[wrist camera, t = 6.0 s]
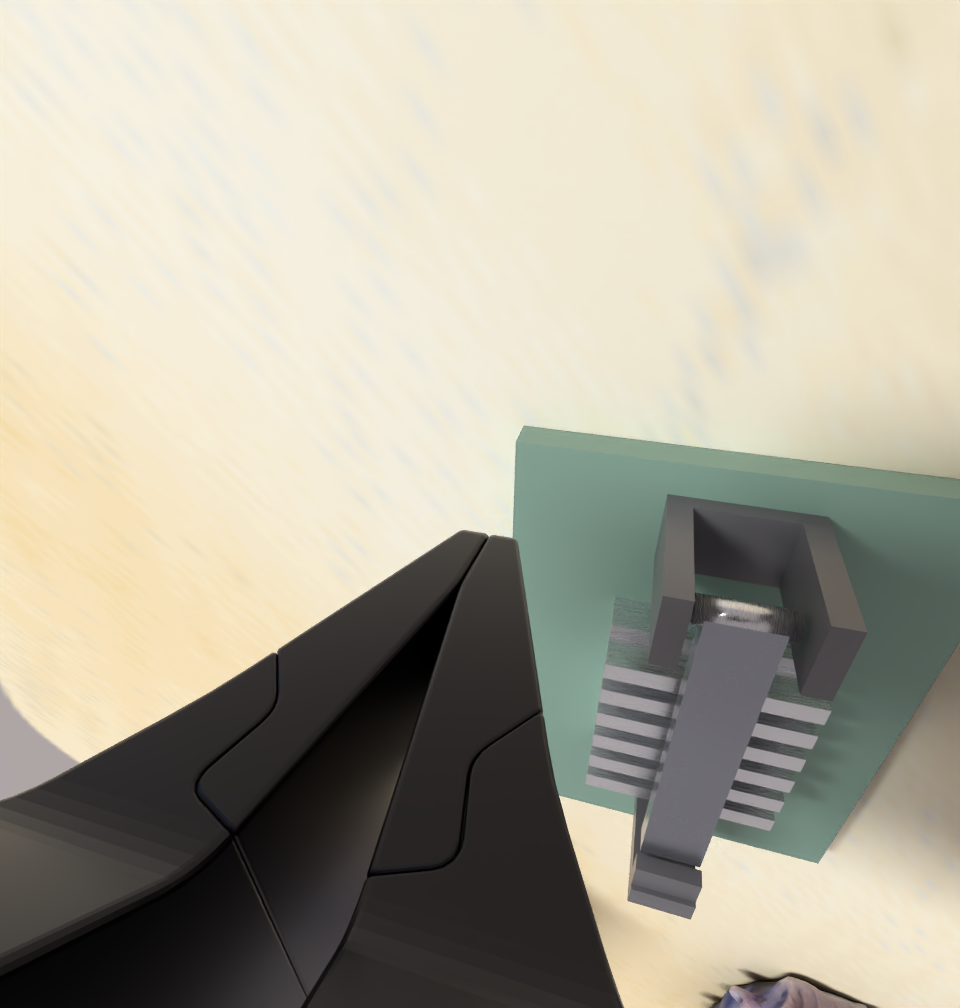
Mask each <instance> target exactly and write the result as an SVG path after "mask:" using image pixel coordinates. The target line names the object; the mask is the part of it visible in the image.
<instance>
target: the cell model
mask: <svg viewBox="0 0 960 1008" xmlns="http://www.w3.org/2000/svg"><path fill="white" fill-rule="evenodd" d="M710 1008H867V1007H866V1006H865V1005H864V1004H861V1003H857V1002H852V1001H849V1000H847V999H845V998H842V997H840V996H836V995H833V994H830V993H827V992H823V991H820V990H819V989H817V988H816V987H814V986H813V985H811V984H809V983H807V982H806V981H803V980H800V979H797V978H793V977H788V976H787V977H786V978H784V979H782V980H779V981H777V982H754V983H751V984H748V985H743V986H735V985H733V986H731V987H730V989H729V990H728V991H727V993H726V994H725V995H724V997H723V999H722V1001H721V1002H719V1003H717V1004H715V1005H713V1006H711V1007H710Z"/></svg>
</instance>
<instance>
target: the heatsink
mask: <svg viewBox="0 0 960 1008" xmlns="http://www.w3.org/2000/svg"><path fill="white" fill-rule="evenodd" d="M651 604H652V603H647V602H642V601H636V600H631V599H625V598H620V597H615V601H614V607H613V613H612V619H611V625H610V631H609V637H608V643H607V649H606V655H605V661H604V667H603V673H602V679H601V685H600V691H599V698H598V704H597V710H596V716H595V722H594V728H593V734H592V741H591V748H590V755H589V763H588V770H587V776H586V783H585V784H588V785H592V786H595V787H599V788H603V789H607V790H611V791H615V792H619V793H623V794H627V795H631V796H635V797H638V798H642V799H646V800H649V799H650V795H651V791H652V788H653V784H654V780H655V777H656V773H657V769H658V765H659V762H660V758H661V754H662V751H663V747H664V743H665V740H666V736H667V732H668V728H669V725H670V721H671V717H672V714H673V710H674V706H675V703H676V699H677V695H678V692H679V688H680V684H681V680H682V677H683V673H684V669H685V666H686V662H687V658H688V655H689V651H690V647H691V643H692V640H693V636H694V632H695V629H696V625H694V624H690V622H689V625H688V629H687V633H686V637H685V640H684V644H683V648H682V651H681V655H680V659H679V663H678V666H677V669H672V668H667V667H662V666H657V665H652V664H648V648H649V634H650V619H651ZM830 713H831V707H830V703H829V701H828V700H823V699H818V698H813V697H808V696H803V695H800V693H799V687H798V682H797V677H796V672H795V666H794V661H793V656H792V650H791V645H790V643H789V642H788V643H787V646H786V648H785V651H784V653H783V656H782V659H781V661H780V664H779V666H778V669H777V671H776V674H775V676H774V679H773V682H772V684H771V687H770V689H769V692H768V694H767V697H766V700H765V702H764V705H763V707H762V710H761V712H760V715H759V717H758V720H757V723H756V725H755V728H754V730H753V733H752V735H751V738H750V740H749V743H748V746H747V748H746V751H745V753H744V756H743V758H742V761H741V764H740V766H739V769H738V771H737V774H736V776H735V779H734V781H733V784H732V787H731V789H730V792H729V794H728V797H727V799H726V802H725V804H724V807H723V810H722V812H721V815H720V817H719V818H720V819H724V820H728V821H732V822H736V823H740V824H744V825H748V826H752V827H756V828H760V829H763V830H767V831H770V830H771V828H772V826H773V824H774V822H775V818H774V812H778V813H779V812H780V810H781V809H782V807H783V805H784V803H785V801H784V794H783V792H787V793H790V791H791V789H792V787H793V785H794V783H795V778H794V772H793V771H798V772H801V770H802V768H803V766H804V764H805V762H806V755H805V750H804V748H807V749H812V748H813V746H814V744H815V742H816V741H817V739H818V732H817V727H816V724H821V725H825V723H826V721H827V719H828V717H829V715H830Z"/></svg>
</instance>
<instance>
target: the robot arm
mask: <svg viewBox="0 0 960 1008" xmlns="http://www.w3.org/2000/svg"><path fill="white" fill-rule="evenodd" d="M0 1008H624V1006H623V1004H622V1001H621V998H620V995H619V993H618V990H617V987H616V984H615V981H614V978H613V975H612V972H611V969H610V966H609V963H608V960H607V957H606V954H605V951H604V947H603V944H602V941H601V938H600V934H599V931H598V928H597V924H596V921H595V918H594V914H593V911H592V908H591V904H590V901H589V898H588V895H587V891H586V888H585V885H584V881H583V878H582V875H581V871H580V868H579V865H578V861H577V858H576V855H575V852H574V848H573V845H572V842H571V838H570V835H569V832H568V828H567V824H566V821H565V817H564V813H563V809H562V806H561V802H560V798H559V794H558V790H557V786H556V783H555V777H554V772H553V767H552V762H551V756H550V751H549V746H548V739H547V732H546V726H545V719H544V717H543V707H542V701H541V694H540V687H539V680H538V674H537V667H536V660H535V653H534V647H533V640H532V633H531V626H530V620H529V613H528V606H527V599H526V593H525V586H524V579H523V572H522V566H521V559H520V552H519V545H518V541H517V540H516V539H514V538H509V537H503V536H497V535H492V536H490V537H488V535H487V534H485V533H479V532H473V531H467V530H462V531H459V532H457V533H456V534H454V535H453V536H451V537H450V538H448V539H447V540H445V541H444V542H442V543H440V544H439V545H437V546H436V547H434V548H433V549H431V550H430V551H428V552H427V553H425V554H424V555H422V556H420V557H419V558H417V559H416V560H414V561H413V562H411V563H410V564H408V565H407V566H405V567H404V568H402V569H401V570H399V571H397V572H396V573H394V574H393V575H391V576H390V577H388V578H387V579H385V580H384V581H382V582H381V583H379V584H377V585H376V586H374V587H373V588H371V589H370V590H368V591H367V592H365V593H364V594H362V595H361V596H359V597H358V598H356V599H354V600H353V601H351V602H350V603H348V604H347V605H345V606H344V607H342V608H341V609H339V610H338V611H336V612H334V613H333V614H331V615H330V616H328V617H327V618H325V619H324V620H322V621H321V622H319V623H318V624H316V625H315V626H313V627H311V628H310V629H308V630H307V631H305V632H304V633H302V634H301V635H299V636H298V637H296V638H295V639H293V640H292V641H290V642H288V643H287V644H285V645H284V646H282V647H281V648H279V649H278V651H277V654H276V653H271V654H270V655H268V656H267V657H265V658H263V659H262V660H260V661H259V662H257V663H256V664H254V665H253V666H251V667H250V668H248V669H246V670H245V671H243V672H242V673H240V674H238V675H237V676H235V677H234V678H232V679H230V680H229V681H227V682H226V683H224V684H222V685H221V686H219V687H217V688H216V689H214V690H213V691H211V692H209V693H208V694H206V695H204V696H202V697H200V698H199V699H197V700H195V701H193V702H192V703H190V704H188V705H186V706H185V707H183V708H181V709H179V710H177V711H176V712H174V713H172V714H170V715H169V716H167V717H165V718H163V719H161V720H160V721H158V722H156V723H154V724H152V725H150V726H148V727H147V728H145V729H143V730H141V731H139V732H137V733H135V734H134V735H132V736H130V737H128V738H126V739H124V740H123V741H121V742H119V743H117V744H115V745H113V746H111V747H110V748H108V749H106V750H104V751H102V752H100V753H99V754H97V755H95V756H93V757H91V758H89V759H87V760H86V761H84V762H82V763H80V764H78V765H76V766H75V767H73V768H71V769H69V770H68V771H65V772H63V773H62V774H60V775H58V776H56V777H54V778H52V779H50V780H48V781H46V782H44V783H42V784H40V785H38V786H36V787H34V788H31V789H29V790H27V791H24V792H22V793H20V794H17V795H15V796H12V797H9V798H7V799H4V800H1V801H0Z"/></svg>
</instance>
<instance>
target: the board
mask: <svg viewBox="0 0 960 1008" xmlns="http://www.w3.org/2000/svg"><path fill="white" fill-rule="evenodd" d="M667 494H671V495H678V496H685V497H692V498H699V499H706V500H713V501H720V502H727V503H734V504H741V505H748V506H755V507H763V508H770V509H777V510H784V511H791V512H798V513H805V514H812V515H819V516H826V517H829V520H830V523H831V526H832V529H833V532H834V535H835V538H836V540H837V543H838V546H839V549H840V552H841V555H842V558H843V561H844V564H845V567H846V570H847V573H848V576H849V579H850V582H851V585H852V588H853V591H854V594H855V597H856V600H857V603H858V605H859V608H860V611H861V614H862V617H863V620H864V623H865V626H866V629H867V632H868V633H867V635H866V637H865V639H864V641H863V643H862V645H861V646H860V648H859V650H858V652H857V654H856V656H855V658H854V660H853V662H852V664H851V666H850V668H849V670H848V672H847V674H846V676H845V678H844V680H843V682H842V684H841V686H840V688H839V690H838V692H837V694H836V696H835V698H834V700H833V702H832V701H829V703H830V707H831V713H830V715H829V717H828V719H827V721H826V723H825V725H821V724H816V727H817V732H818V739H817V741H816V742H815V744H814V746H813V748H812V749H807V748H804V750H805V755H806V762H805V764H804V766H803V768H802V770H801V772H798V771H793V772H794V778H795V783H794V785H793V787H792V789H791V791H790V793H787V792H783V794H784V801H785V803H784V805H783V807H782V809H781V810H780V812H779V813H778V812H774V818H775V822H774V824H773V826H772V828H771V830H770V831H767V830H763V829H760V828H756V827H752V826H748V825H744V824H740V823H736V822H732V821H728V820H724V819H720V818H719V820H718V822H717V825H716V828H715V830H714V833H713V835H712V836H716V837H719V838H723V839H727V840H731V841H735V842H738V843H742V844H746V845H750V846H754V847H757V848H761V849H765V850H769V851H773V852H777V853H780V854H784V855H788V856H792V857H796V858H799V859H803V860H807V861H811V862H815V863H819V861H820V860H821V858H822V856H823V855H824V853H825V852H826V850H827V849H828V847H829V846H830V844H831V842H832V841H833V839H834V838H835V836H836V835H837V833H838V831H839V830H840V828H841V827H842V825H843V824H844V822H845V820H846V819H847V817H848V816H849V814H850V813H851V811H852V810H853V808H854V806H855V805H856V803H857V802H858V800H859V799H860V797H861V795H862V794H863V792H864V791H865V789H866V788H867V786H868V784H869V783H870V781H871V780H872V778H873V777H874V775H875V773H876V772H877V770H878V769H879V767H880V766H881V764H882V763H883V761H884V759H885V758H886V756H887V755H888V753H889V752H890V750H891V748H892V747H893V745H894V744H895V742H896V741H897V739H898V737H899V736H900V734H901V733H902V731H903V730H904V728H905V727H906V725H907V723H908V722H909V720H910V719H911V717H912V716H913V714H914V712H915V711H916V709H917V708H918V706H919V705H920V703H921V701H922V700H923V698H924V697H925V695H926V694H927V692H928V691H929V689H930V687H931V686H932V684H933V683H934V681H935V680H936V678H937V676H938V675H939V673H940V672H941V670H942V669H943V667H944V665H945V664H946V662H947V661H948V659H949V658H950V656H951V654H952V653H953V651H954V650H955V648H956V647H957V645H958V644H959V642H960V480H959V479H950V478H942V477H934V476H926V475H918V474H910V473H902V472H894V471H885V470H877V469H869V468H861V467H853V466H845V465H837V464H829V463H821V462H812V461H804V460H796V459H788V458H780V457H772V456H764V455H756V454H747V453H739V452H731V451H723V450H715V449H707V448H699V447H691V446H682V445H674V444H666V443H658V442H650V441H642V440H634V439H626V438H618V437H609V436H601V435H593V434H585V433H577V432H569V431H561V430H553V429H544V428H536V427H528V426H523V428H522V430H521V432H520V435H519V437H518V439H517V441H516V456H515V486H514V516H513V538H514V539H516V540H517V541H518V545H519V552H520V559H521V566H522V572H523V579H524V586H525V593H526V599H527V606H528V613H529V620H530V626H531V633H532V640H533V647H534V653H535V660H536V667H537V674H538V680H539V687H540V694H541V701H542V707H543V717H544V719H545V726H546V732H547V739H548V746H549V751H550V756H551V762H552V767H553V772H554V777H555V783H556V786H557V790H558V794H559V795H560V796H563V797H567V798H571V799H575V800H579V801H583V802H586V803H590V804H594V805H598V806H602V807H605V808H609V809H613V810H617V811H621V812H624V813H628V814H632V815H634V804H635V796H631V795H627V794H623V793H619V792H615V791H611V790H607V789H603V788H599V787H595V786H592V785H588V784H585V783H586V776H587V770H588V763H589V755H590V748H591V741H592V734H593V728H594V722H595V716H596V710H597V704H598V698H599V691H600V685H601V679H602V673H603V667H604V661H605V655H606V649H607V643H608V637H609V631H610V625H611V619H612V613H613V607H614V601H615V597H620V598H625V599H631V600H636V601H642V602H647V603H652V589H653V574H654V559H655V552H656V547H657V543H658V538H659V533H660V528H661V523H662V518H663V513H664V508H665V504H666V499H667ZM694 579H695V592H696V593H701V594H707V595H713V596H718V597H724V598H730V599H735V600H741V601H747V602H752V603H758V604H764V605H769V606H775V607H781V608H783V603H782V598H781V593H780V588H777V587H771V586H765V585H759V584H753V583H747V582H741V581H735V580H729V579H723V578H718V577H712V576H706V575H700V574H694Z"/></svg>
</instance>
